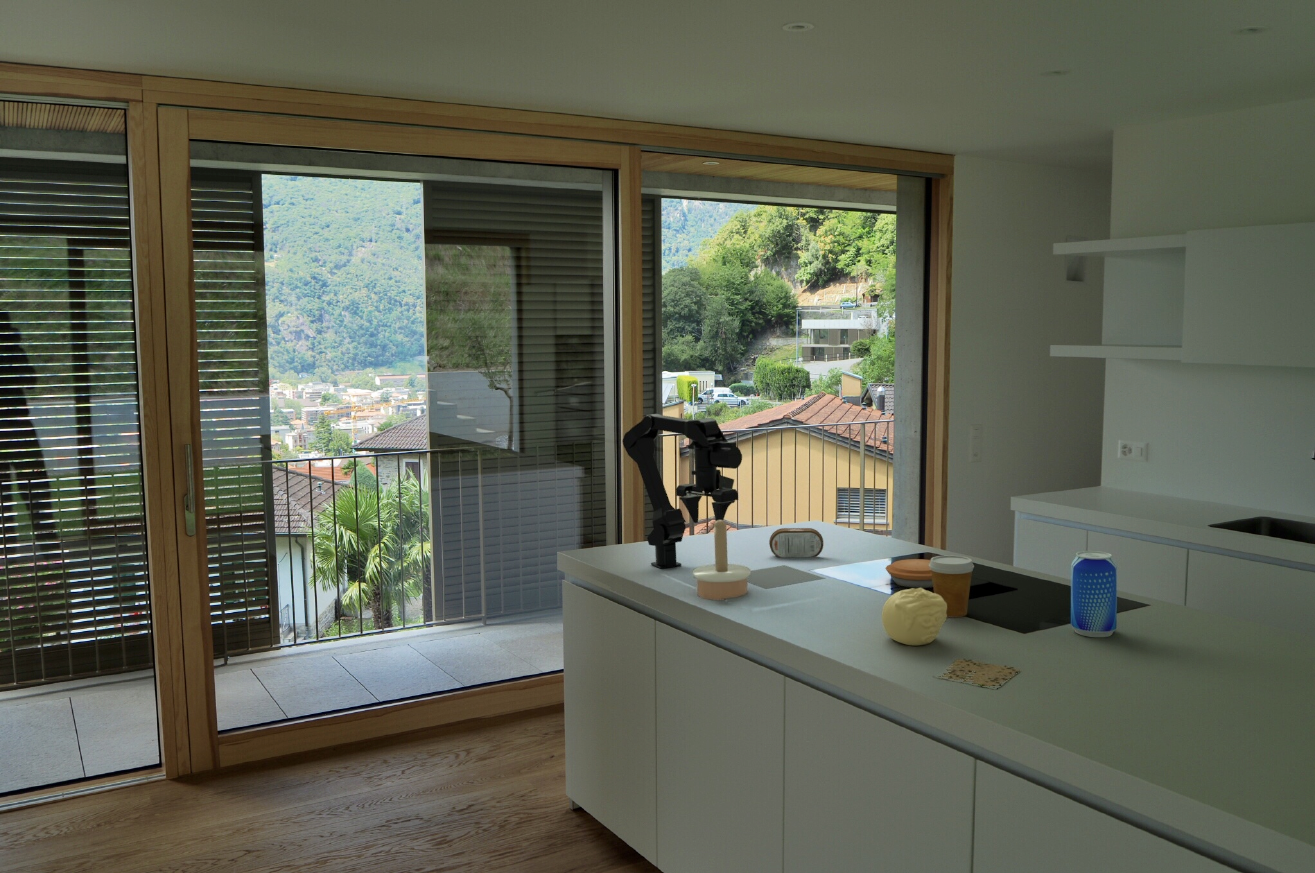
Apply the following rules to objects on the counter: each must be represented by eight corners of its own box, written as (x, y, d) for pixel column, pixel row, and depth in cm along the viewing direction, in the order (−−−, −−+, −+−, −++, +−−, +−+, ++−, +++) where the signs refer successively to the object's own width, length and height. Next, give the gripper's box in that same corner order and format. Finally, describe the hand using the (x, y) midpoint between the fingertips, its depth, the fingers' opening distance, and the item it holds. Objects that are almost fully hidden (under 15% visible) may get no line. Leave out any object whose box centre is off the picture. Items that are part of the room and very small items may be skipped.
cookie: (957, 660, 186) (957, 655, 186) (1022, 672, 178) (1022, 667, 178) (930, 679, 177) (930, 673, 177) (997, 692, 169) (997, 687, 169)
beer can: (1114, 627, 201) (1114, 550, 200) (1118, 639, 193) (1119, 559, 192) (1069, 625, 204) (1069, 549, 202) (1072, 637, 196) (1072, 558, 195)
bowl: (689, 591, 243) (688, 574, 242) (730, 584, 248) (729, 567, 248) (713, 602, 232) (713, 583, 232) (756, 594, 238) (756, 576, 237)
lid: (682, 573, 243) (680, 519, 241) (731, 566, 249) (729, 512, 248) (711, 585, 230) (709, 527, 229) (761, 576, 237) (760, 520, 235)
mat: (727, 576, 257) (727, 574, 257) (784, 566, 265) (784, 565, 265) (765, 590, 241) (765, 588, 241) (825, 580, 249) (825, 578, 249)
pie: (881, 588, 240) (880, 568, 239) (891, 573, 254) (890, 554, 253) (947, 592, 234) (946, 571, 233) (953, 577, 248) (953, 557, 248)
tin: (823, 556, 276) (822, 526, 276) (824, 559, 273) (823, 529, 272) (769, 557, 278) (768, 528, 277) (769, 559, 275) (769, 530, 274)
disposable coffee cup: (977, 609, 218) (976, 556, 217) (971, 621, 209) (970, 565, 208) (933, 606, 222) (932, 553, 221) (925, 617, 213) (925, 563, 212)
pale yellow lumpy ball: (911, 653, 190) (911, 599, 189) (871, 638, 200) (870, 586, 199) (956, 643, 195) (955, 590, 194) (914, 628, 206) (913, 578, 205)
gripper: (752, 465, 257) (754, 524, 258) (704, 460, 271) (706, 516, 272) (721, 470, 250) (723, 531, 251) (673, 465, 264) (675, 522, 265)
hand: (707, 524), depth 260 cm, fingers open, 9 cm apart
